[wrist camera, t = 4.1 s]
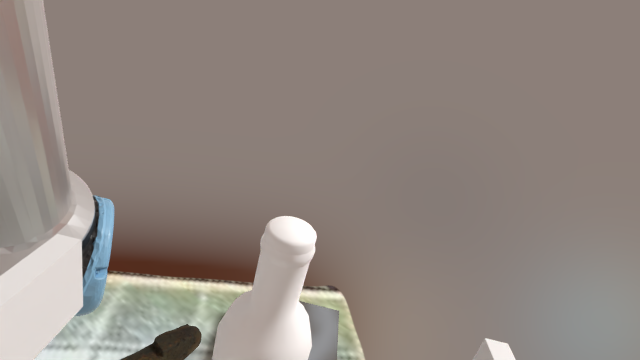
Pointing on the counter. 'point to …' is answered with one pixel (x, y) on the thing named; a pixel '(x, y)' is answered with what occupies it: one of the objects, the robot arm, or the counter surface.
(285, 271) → the bottle
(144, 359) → the hand tool
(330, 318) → the slate stand
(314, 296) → the counter surface
